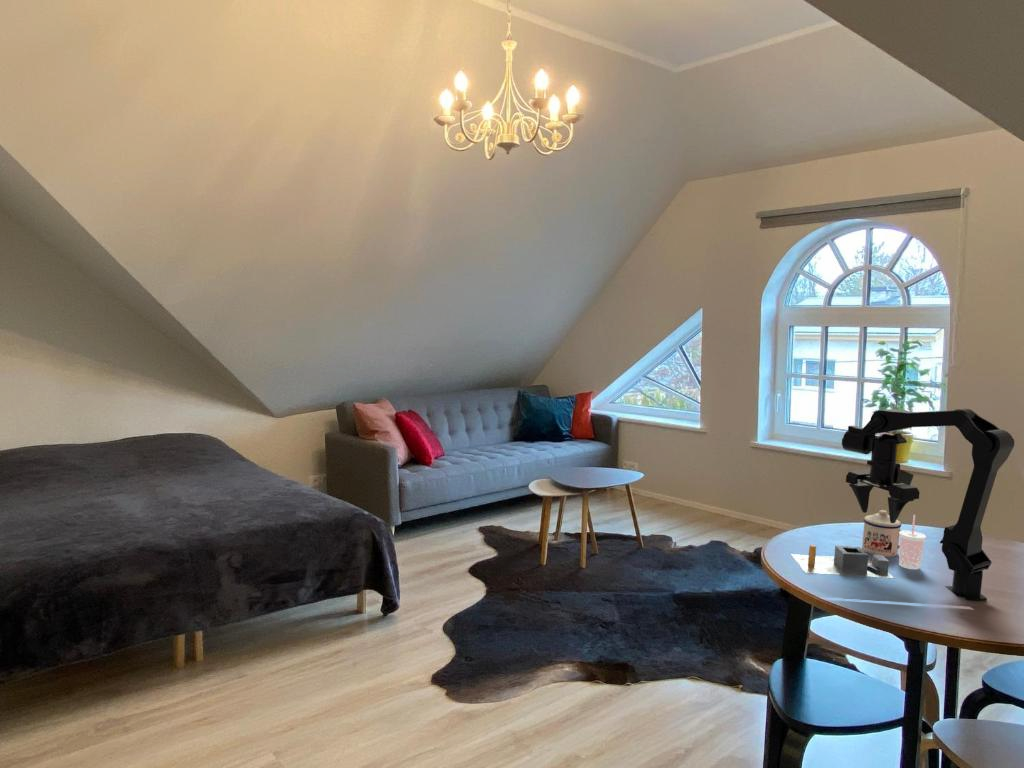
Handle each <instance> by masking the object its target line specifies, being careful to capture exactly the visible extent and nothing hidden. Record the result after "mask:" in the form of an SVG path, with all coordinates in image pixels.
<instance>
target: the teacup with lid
mask: <svg viewBox="0 0 1024 768" xmlns="http://www.w3.org/2000/svg"><path fill="white" fill-rule="evenodd" d="M863 522H864V525H863V533H862V534H863V535H862V544H861V545H862V546H861V549H862V550H863V551H865V552H866V553H867V554H871V555H883V556H884V557H895V556H897V555H898V550H900V536H899V532H900V531H903V530H904V529H901V527H902V523H901V521H900V520H898V519H897V520H896V522H895V523H891V522H890V517H889V514H888V511H886V509H885V510H884V509H881V510H880V509H879V511H878V512H876V513H874V514H868V515H866V516H865V517H864V518H863Z"/></svg>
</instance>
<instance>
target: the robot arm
mask: <svg viewBox="0 0 1024 768" xmlns="http://www.w3.org/2000/svg"><path fill="white" fill-rule="evenodd" d="M952 426H953V427H955V428H957V429H958V430H959V432H960V433H961V434H962V436H963V438H964V439H965V440H967V441H968V442H969V443H970V444H971V458H972V462H973V468H972V471H971V475H970V478H969V482H968V485H967V489H966V492H965V495H964V498H963V501H962V502H963V503H962V505H961V508H960V511H959V515H958V519H957V521H956V523H955V524H953V525H950V526H945V527H944V530H943V535H942V539H941V540H940V541H939V544H942V545H941V552H942V553H943V555H944V556H945V558H946V562H947V567H948V570H951V571H953V574H952V575H953V576H952V584H951V585H945V586H944V587H945V588H946V589H947V590H949V591H950V592H951V594H954V595H955V596H956V597H958V598H964V599H965V600H973V601H987V600H988V598H987V597H986V596H985V595H983V594H982V593H981V592H982V585H983V575H984V572H983V571H985V570H989V568H990V567H991V564H992V560H991V559H990V557H988V555H987V554H986V553H985V551H984V550H983V549H982V548H983V539H984V538H983V534H982V530H981V529H982V528H981V526H982V524H983V519H984V517H985V513H986V509H987V506H988V504H989V500H990V498H991V497H990V496H991V493H992V490H993V488H994V483H995V480H996V478H997V474H998V471H999V470H1000V469H1001V467H1002V466H1003V465H1004V464H1005V462H1007V460H1008V458H1009V457H1010V455H1011V453H1012V452H1013V450H1014V447H1015V443H1016V442H1015V439H1014V438H1013V435H1012V434H1011V433H1010V432H1009V431H1006V430H1004V429H1000V428H999V427H998V426H997V425H996V424H994V423H992V422H990V421H989V420H987V419H985V418H984V417H982V416H980V415H979V414H977V413H976V412H975V411H973V410H972V409H970V408H959V409H953V410H952V409H951V410H950V409H949V410H934V411H933V410H931V411H910V410H906V409H898V408H897V409H896V408H889V409H878V410H875V411H873V413H872V415H871V417H870V420H869V421H868V422H867V423H866V424H865V425H864V426H863V427H861V426H858V425H848V426H847V430H846V431H845V433H844V434H843V437H842V439H841V446H842V448H843V450H845V451H848V452H853V453H858V454H862V455H869V454H870V453H871V456H870V457H871V459H870V460H866V465H868V466H869V467H870V468H869V469H870V470H869V472H867V471H865V470H857V471H856V470H855V471H848V473H847V474H846V477H845V483H848V486H849V487H850V488H851V490H852V491H853V494H854V495H855V497H856V500H857V502H858V504H859V508H860V510H861V511H862V513H868V508H869V501H870V496H871V495H870V493H871V491H872V490H873V489H874V488H875V487H876V488H878V489H881V490H884V491H888V494H889V496H890V497H887V503H888V504H887V505H888V515H889V517H890V522H891V523H895V522H896V520H898V518H899V516H900V514H901V512H902V510H903V509H904V508H905V506H906V505H908V503H909V502H914V500H919V499H920V493H921V491H920V490H919V488H918V487H916V486H913V485H912V481H913V478H914V476H915V475H914V474H913V473H910V472H908V471H906V470H903V469H901V464H900V463H899V462H897V455H898V445H901V444H902V445H903V444H907V443H908V441H907V439H906V438H905V437H904V436H903V435H902V434H901V433H894V434H893V435H892V434H887V433H890V432H898V431H903V430H907V429H912V428H925V427H930V428H931V427H952ZM876 434H881V435H880V436H879V435H876Z"/></svg>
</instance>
